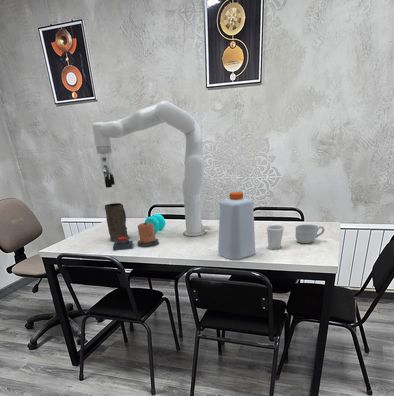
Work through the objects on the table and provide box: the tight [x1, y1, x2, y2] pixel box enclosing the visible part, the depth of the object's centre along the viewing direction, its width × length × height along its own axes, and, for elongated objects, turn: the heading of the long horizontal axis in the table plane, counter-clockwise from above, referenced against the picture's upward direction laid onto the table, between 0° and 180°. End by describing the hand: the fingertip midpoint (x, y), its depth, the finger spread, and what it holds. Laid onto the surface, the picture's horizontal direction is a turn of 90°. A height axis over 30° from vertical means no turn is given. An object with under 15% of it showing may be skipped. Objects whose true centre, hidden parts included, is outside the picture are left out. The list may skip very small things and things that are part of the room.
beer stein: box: [104, 202, 129, 242], centre depth 201 cm, size 15×11×20 cm
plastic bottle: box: [217, 191, 256, 261], centre depth 159 cm, size 15×15×28 cm
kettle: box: [137, 222, 156, 243], centre depth 188 cm, size 17×8×10 cm, turn 35°
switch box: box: [112, 238, 134, 251], centre depth 187 cm, size 10×8×4 cm
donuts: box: [144, 213, 166, 234], centre depth 210 cm, size 10×10×10 cm
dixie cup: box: [266, 224, 285, 250], centre depth 169 cm, size 8×8×10 cm
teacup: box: [295, 223, 325, 244], centre depth 174 cm, size 14×11×8 cm
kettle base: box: [137, 237, 160, 248], centre depth 190 cm, size 12×12×2 cm
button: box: [118, 237, 126, 242], centre depth 186 cm, size 4×4×2 cm
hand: (110, 186), depth 186 cm, fingers open, 9 cm apart
